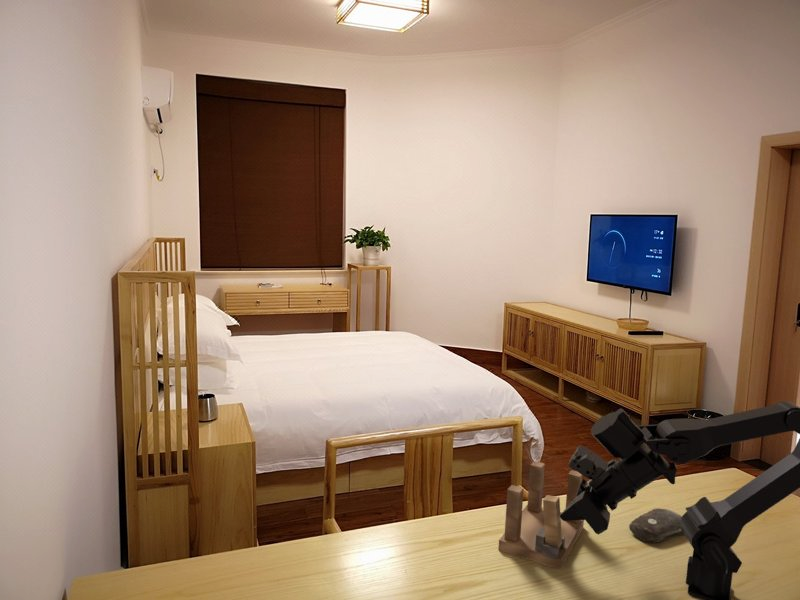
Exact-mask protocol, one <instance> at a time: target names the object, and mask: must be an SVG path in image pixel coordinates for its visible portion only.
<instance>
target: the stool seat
mask: <svg viewBox="0 0 800 600" xmlns="http://www.w3.org/2000/svg"><path fill="white" fill-rule="evenodd" d="M545 466H546V465H545V463H544V462H540V461H535V460H533V462H531V463H530V465H529V479H528V495H527V504H526V506H525V507H524V508H523V502H524V501H523V500H524V489H525V488H524V487H522V486H518V485H515V484H514V485H513V484H511V485H510V486H509V487H508V488H507V489H506V491H507V493H506V504H505V505H506V507H505V508H506V509H505V524H504V525H505V526H504V532H503V534H502V536H500V538H499V540H498V549H497V550H498V551H502V552H504V553H507V554H510V555H513V556H518V557H520V558H523V559H526V560H530V561H533V562H536V563H538V564H542V565H545V566H548V567H551V568H554V569H557V570H561V569H562V567H563V565H564V564H565V562H566V560H567V558H568V557H569V555H570V553H571V551H572V549H573V547H574V545H575V543H576V542H577V541H578V538H579V536H580V535H581V533H582V531H583V529H584V526H585V522H584V521H585V520H572V521H563V520H562V519H561V537H562V544H561V546H560V547H557V546H554V545H550V544H547V543H545V527H544V509H543V495H544V479H545V477H544V476H545ZM583 477H584V476H583V475H582V474H580V473H579V472H577V471H576V470H573V469H571V470H570V471H569V472H568V474H567V484H566V485H567V487H566V496H565V497H566V498H565V499H566V500H565V501H566V502H565V509H566V508H567V507H568V506H569V504H570V503H571V502H572V501H573V500H574V499H575V498H576V497H577V492H578V489H579V487H580V484H581V482H582V479H584V478H583ZM561 513H562V512H561V511H560V515H561Z"/></svg>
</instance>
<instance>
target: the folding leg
mask: <svg viewBox="0 0 800 600" xmlns="http://www.w3.org/2000/svg"><path fill="white" fill-rule="evenodd" d="M560 501H561V500H560V496H556V495H549V494H547V495H545V497H544V498H542V507H543V509H544V527H545V543H547V544H550V545H554V546H557V547H560V546H561V544H562V537H561V518H560V512H561V502H560Z"/></svg>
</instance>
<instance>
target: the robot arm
mask: <svg viewBox="0 0 800 600" xmlns="http://www.w3.org/2000/svg"><path fill="white" fill-rule="evenodd" d="M788 432H795V433H797V434H798V435H800V406H798V405H796V404H795V403H793V402H792V401H787V400H786V401H779V402H777V403H775V404H771V405H767V406H763V407H759V408H753V409H750V410H745V411H741V412H739V411H738V412H736V413H731V414H727V415H723V416H718V417H714V418H709V419H698V418H697V419H696V418H672V419H664V420H662V421H661V422H659V423H657V424H645V425H644V424H642V425H641V424H640V425H636V424H635V423H634V422H633V420H631V418H630V416H629V415H628V413H626V411H625V410H624V409H623V408H619V409H617V410H616V411H611V412H609V413H607V414H606V415H602V416H601V417H600V418H598V420H597V421H595V423H594V424H593V425H592V427H591V430H590V434H591V435H592V436H593V437H594V438H595V440H597V441H598V442H599V443H600V445H601V446H602V447H603V448H604V449H605V450H606V451H607V452H608V453H609V454H610V455H611V456H612V459H611V460H610V461H606V460H605V459H603V458H602V457H601V456H599V455H598V454H597V453H595V452H594V451H592V450H590V449H589V448H587V447H585V446H584V445H581V444H579V445H578V447H577V448H576V449H575V451H574V453H573V454H572V456H571V458H570V459H569V462H568V464H567V465H568V467H569V468H570V469H571V470H574V471H577V472H579V473H580V474H582V475H583V477H585V478H587V479H588V481H586V479H584V478H582V482H581V484H580V487H579V489H578V492H577V497H576V498H575V499H574V500H573V501H572V502H571V503H570V504H569V506H568V507H567V508H566V507H565V509H564V510H563V511H562V512H561V515H560V518H561V519H562V520H563V521H572V520H584V521H585V522H586V523H587V524H588V526H589V527H590V528H591V529H592V531H593V532H594V534H596V535H601V534H603V533H604V532H605V531H607V530H608V529H609V528H608V527H609V524H610V519H611V512H610V511H609V510H608V509H610V510H611V511H614V510H615V509H617V507H618V504H620V503H621V502H622V501H624V500H625V499H627V498H630V499H631V500H632V499H633V498H636V497H637V493H638V491H641V489H643V488H645V487H646V486H648V485H650V484H651V483H653V482H654V481H656V480H658V479H659V478H661V477H662V476H663V477H664V478H665V479H666V481H668V482H669V483H670V485H675V484H676V474H677V472H678V468H677V464H687V463H689V462H693V461H695V460H697V459H700V458H701V457H704V456H706V455H708V454H709V453H710V452H711V451H713V450H714V449H716V448H720V447H722V446H727V445H731V444H735V443H741V442H746V441H750V440H751V441H752V440H755V439H759V438H765V437H768V436H773V435H774V436H775V435H777V434H778V435H779V434H783V433H788ZM663 456H665V457H666V458H667V459H668V460H670V461H672V462H670V461H668V460H667V459H665V458H664V457H663ZM613 458H615V459H613ZM618 459H619V460H618ZM799 489H800V438H799V439H798V440H797V443H796V445H795V447H794V449H793V451H792V452H790V453H789V454H788V455H786V456H785V457H784V458H781V460H779V461H778V462H776V463H775V464H773V465H772V466H770V467H769V468H767V469H766V470H765V471H763V472H761V474H759V475H757V476H756V477H754V478H753V479H752V480H750V481H748V482H747V483H746V484H745V485H743V486H741V487H740V488H738V489H737V490H736V491H734V492H733V493H731V494H730V495H728V496H727V497H726V498H724V499H721V500H719V501H713V502H710V500H709V498H707V497H706V496H703V497H701V498H699V500H697V501H696V503H694V504H693V505H690V506H688V507H687V506H686V507H685V510H686V511H685V513H684V514H682V515H681V516H682V518H681V530H682V531H683V533H684V536H685V538H686V539H687V541H688V543H689V544H690V545H691V547H692V555H690V556H688V560H687V567H686V577H685V578H686V579H685V585H687V593H688V595H691V596H695V597H698V598H701V599H705V600H731V598H732V597H731V596H732V594H731V593H732V582H733V574H738V571H739V570H740V568H741V566H742V564H743V562H742V560H741V559H740V558H739V557H738V555H737V554H736V553H735V551H734V550H733V548H732V547H733V546H734V545H735V543H737V541H738V539H739V537H740V535H741V532H742V531H743V528H744V527H746V525H747V524H749V523H750V522H752V521H753V520H754V519H756V518H758V517H759V516H761V515H762V514H764V513H765V512H767V511H768V510H769V509H771V508H773V507H774V506H776V505H777V504H779V503H780V502H781V501H783V500H784V499H786V498H787V497H789V496H790V495H792V494H794V492H797V491H798V490H799Z"/></svg>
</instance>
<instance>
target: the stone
mask: <svg viewBox="0 0 800 600" xmlns="http://www.w3.org/2000/svg"><path fill="white" fill-rule="evenodd" d="M682 516H683V515H680V514H679V513H677V512H675V511H673V510H671V509H667V508H659V507H658V508H654V509H653V508H652V509H651V510H649V511H648V512H646V513H643V514H642V515H639V516H638V517H636V518H635V519H634V520H632V521H631V522H630V524H628V525H629V526H628V527H629V530H630V531H631V533H632V534H633V535H634V536H636V537H637V538H638V539H640V540H642V541H644V542H645V543H651V544H652V543H654V544H655V543H659V542H662V541H665V540H668V539H670V538H673V537H677V536H681V535H683V534H684V533H683V531H682V530H681V518H682Z"/></svg>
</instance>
